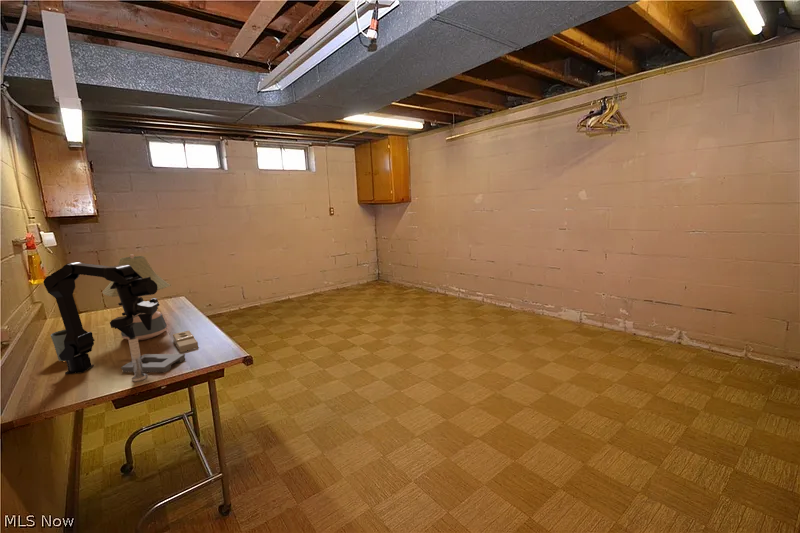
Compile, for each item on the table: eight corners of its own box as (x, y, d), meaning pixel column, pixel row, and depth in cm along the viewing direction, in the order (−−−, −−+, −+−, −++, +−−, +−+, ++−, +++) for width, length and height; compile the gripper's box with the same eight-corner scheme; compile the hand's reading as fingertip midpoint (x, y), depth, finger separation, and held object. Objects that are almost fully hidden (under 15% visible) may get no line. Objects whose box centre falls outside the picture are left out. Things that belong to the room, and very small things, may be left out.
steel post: (129, 382, 131) (121, 341, 128) (137, 376, 136) (130, 336, 133) (142, 381, 132) (135, 340, 129) (150, 375, 136) (143, 335, 133)
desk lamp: (124, 350, 161) (107, 260, 153) (105, 338, 178) (89, 256, 170) (185, 333, 181) (173, 252, 173) (163, 323, 198) (151, 249, 190)
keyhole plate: (121, 372, 139) (120, 367, 139) (145, 359, 151) (144, 354, 151) (165, 372, 138) (164, 367, 138) (185, 359, 150) (184, 354, 149)
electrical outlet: (179, 344, 156) (172, 333, 170) (180, 353, 157) (173, 341, 171) (197, 340, 161) (189, 330, 175) (198, 348, 162) (190, 337, 175)
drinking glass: (54, 364, 149) (48, 337, 146) (58, 356, 157) (53, 331, 154) (86, 358, 154) (80, 331, 152) (88, 350, 162) (83, 325, 160)
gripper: (133, 302, 128) (146, 341, 131) (164, 287, 146) (175, 322, 149) (102, 307, 128) (116, 346, 131) (137, 291, 146) (149, 326, 149)
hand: (141, 334), depth 140 cm, fingers open, 9 cm apart
